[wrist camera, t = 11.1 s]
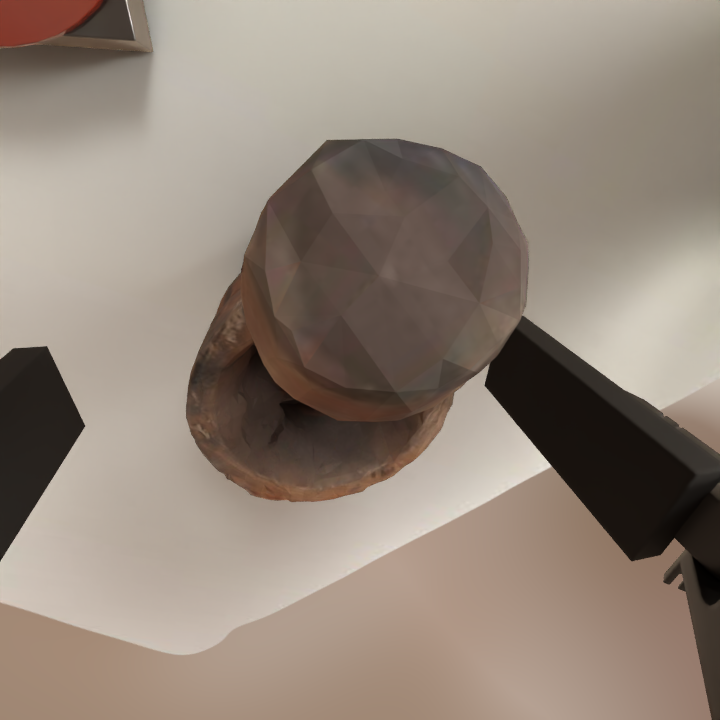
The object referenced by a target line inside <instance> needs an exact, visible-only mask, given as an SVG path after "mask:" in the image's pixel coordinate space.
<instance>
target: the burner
mask: <svg viewBox="0 0 720 720" xmlns="http://www.w3.org/2000/svg"><path fill="white" fill-rule="evenodd" d="M103 1H104V0H0V48H18V47H24V46H30V45H36V44H41V43H44V42H46V41H49V40H52V39H54V38H57V37H60V36H62V35H64V34H66V33H67V32H69V31H70V30H72V29H74V28H75V27H77V26H79V25H80V24H82V23H83V22H84V21H85V20H86V19H87V18H88V17H89V16H90V15H91V14H92V13H94V12H95V11H96V10H97V9H98V8H99V6H100V5H101V4H102V2H103Z"/></svg>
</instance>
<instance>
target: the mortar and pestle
mask: <svg viewBox="0 0 720 720" xmlns="http://www.w3.org/2000/svg"><path fill="white" fill-rule="evenodd" d="M528 269H529V258H528V241H527V239H526V237H525V235H524V234H523V232H522V230H521V228H520V226H519V224H518V222H517V220H516V218H515V216H514V213H513V211H512V209H511V206H510V204H509V202H508V199H507V197H506V196H505V195H504V193H503V192H502V191H501V190H500V189H499V188H498V186H497V185H496V184H495V183H494V182H493V180H492V179H491V178H490V177H489V176H488V175H487V173H486V172H485V171H484V170H483V169H482V167H481V166H478V165H476V164H474V163H472V162H470V161H468V160H465V159H463V158H461V157H459V156H457V155H455V154H453V153H450V152H448V151H446V150H444V149H442V148H437V147H433V146H428V145H423V144H419V143H414V142H410V141H405V140H400V139H358V140H327V141H326V142H325V143H324V144H323V145H322V146H321V147H320V148H319V149H318V150H317V151H316V152H315V153H314V154H313V155H312V156H311V157H310V158H309V159H308V160H307V161H306V162H305V163H304V164H303V165H302V166H301V167H300V168H299V169H298V170H297V171H296V172H295V173H294V174H293V175H292V176H291V177H290V178H289V179H288V180H287V181H286V182H285V183H284V184H283V185H282V186H281V187H280V188H279V189H278V190H277V191H276V192H275V193H274V194H273V195H272V196H271V197H270V198H269V200H268V201H267V203H266V206H265V207H264V209H263V210H262V212H261V215H260V218H259V220H258V223H257V226H256V229H255V231H254V234H253V236H252V238H251V241H250V243H249V245H248V248H247V250H246V252H245V254H244V262H243V266H242V269H241V274H239V275H238V277H237V278H236V279H235V280H234V281H233V283H232V284H231V285H230V286H229V287H228V289H227V291H226V293H225V294H224V296H223V298H222V300H221V302H220V305H219V308H218V310H217V313H216V316H215V318H214V319H213V321H212V323H211V325H210V328H209V330H208V332H207V334H206V336H205V339H204V341H203V343H202V345H201V347H200V350H199V352H198V354H197V357H196V360H195V363H194V365H193V368H192V371H191V375H190V380H189V385H188V393H187V404H186V418H187V421H188V425H189V428H190V432H191V434H192V436H193V438H194V439H195V442H196V444H197V446H198V447H199V449H200V450H201V452H202V453H203V455H204V456H205V457H206V458H207V459H208V460H209V461H210V463H211V464H212V465H213V466H214V467H215V468H216V469H217V470H218V471H219V472H221V473H223V474H224V475H225V476H226V478H227V479H229V480H231V481H233V482H234V483H236V484H237V485H239V486H240V487H242V488H244V489H245V490H246V491H247V492H248V493H249V494H250V495H253V496H256V497H260V498H264V499H269V500H277V501H278V500H289V501H291V502H297V501H311V502H314V501H323V500H330V499H335V498H338V497H342V496H346V495H350V494H355V493H359V492H362V491H364V490H365V489H366V488H367V487H369V486H371V485H373V484H376V483H378V482H381V481H384V480H387V479H388V478H390V477H392V476H394V475H395V474H396V473H397V472H398V471H400V470H401V469H402V468H403V467H404V466H406V465H407V464H409V463H411V462H412V461H414V460H415V459H416V458H417V457H418V456H419V455H420V454H421V453H422V452H423V451H424V450H425V449H426V448H427V447H428V446H429V444H430V443H431V442H432V440H433V439H434V438H435V437H436V435H437V434H438V433H439V431H440V430H441V428H442V426H443V423H444V420H445V418H446V415H447V412H448V411H449V409H450V407H451V406H452V403H453V396H454V392H455V391H457V390H458V389H459V388H461V387H462V386H463V385H464V384H465V383H466V381H468V380H469V379H471V378H472V377H474V376H475V375H477V374H478V373H479V372H480V371H482V370H483V369H484V368H485V367H486V366H487V365H488V364H489V363H490V362H491V361H492V360H493V359H494V358H496V357H497V356H498V354H499V353H500V351H501V349H502V348H503V346H504V345H505V343H506V342H507V340H508V339H509V337H510V336H511V334H512V332H513V331H514V329H515V328H516V326H517V325H518V323H519V322H520V320H521V317H522V314H523V312H524V309H525V307H526V299H527V284H528Z"/></svg>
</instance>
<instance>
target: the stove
mask: <svg viewBox="0 0 720 720" xmlns="http://www.w3.org/2000/svg"><path fill="white" fill-rule="evenodd" d="M37 45H52V46H67V47H82V48H96V49H111V50H126V51H141V52H153V47H152V42H151V37H150V33H149V28H148V23H147V18H146V13H145V8H144V3H143V0H104V1H103V2H102V4H101V5H100V6H99V8H98V9H97V10H96V11H95V12H94V13H92V14H91V15H90V16H89V17H88V18H87V19H86V20H85V21H84V22H83V23H82V24H80V25H79V26H77V27H75V28H74V29H72V30H70V31H69V32H67V33H66V34H64V35H62V36H60V37H57V38H54V39H52V40H49V41H46V42H44V43H41V44H37Z"/></svg>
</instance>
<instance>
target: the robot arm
mask: <svg viewBox="0 0 720 720" xmlns="http://www.w3.org/2000/svg"><path fill="white" fill-rule="evenodd" d="M485 387H486V388H487V389H488V390H489V391H490V392H491V394H492V395H493V396H494V397H495V398H496V400H497V401H498V402H499V403H500V404H501V406H502V407H503V408H504V409H505V410H506V412H507V413H508V414H509V415H510V416H511V418H512V419H513V420H514V421H515V422H516V424H517V425H518V426H519V427H520V428H521V430H522V431H523V432H524V433H525V434H526V436H527V437H528V438H529V439H530V440H531V442H532V443H533V444H534V445H535V446H536V448H537V449H538V450H539V451H540V452H541V454H542V455H543V456H544V457H545V458H546V460H547V461H548V462H549V463H550V464H551V466H552V467H553V468H554V469H555V470H556V471H557V473H558V474H559V475H560V476H561V478H562V479H563V480H564V481H565V482H566V483H567V485H568V486H569V487H570V488H571V489H572V491H573V492H574V493H575V494H576V495H577V497H578V498H579V499H580V500H581V501H582V503H583V504H584V505H585V506H586V507H587V509H588V510H589V511H590V512H591V513H592V515H593V516H594V517H595V518H596V519H597V521H598V522H599V523H600V524H601V525H602V527H603V528H604V529H605V530H606V531H607V533H609V535H610V536H611V537H612V539H613V540H614V541H615V542H616V543H617V544H618V546H619V547H620V548H621V549H622V550H623V552H624V553H625V554H626V555H627V556H628V558H629V559H630V560H631V561H635V560H640V559H644V558H649V557H654V556H658V555H661V554H662V553H663V551H664V550H665V549H666V548H667V546H668V545H669V544H670V542H671V541H672V540H673V539H674V538H675V539H676V540H677V541H678V542H680V544H681V545H682V546H683V547H685V550H684V551H683V553H682V554H681V555H680V556H679V557H678V559H677V560H676V561H675V562H674V563H673V565H672V566H671V567H670V568H669V569H668V570H667V571H666V573H665V574H664V581H663V582H664V583H666V584H671V582H672V581H673V580H674V579H675V578H676V577H677V576H678V574H682V575H683V581H682V583H681V584H680V585H679V587H678V589H680V590H683V591H685V592H686V595H687V600H688V605H689V609H690V614H691V619H692V624H693V629H694V634H695V639H696V644H697V649H698V654H699V659H700V664H701V668H702V673H703V678H704V683H705V688H706V693H707V698H708V703H709V708H710V713H711V717H712V720H720V454H719V453H717V452H716V451H714V450H713V449H712V448H710V447H709V446H708V445H706V444H705V443H703V442H702V441H701V440H699V439H698V438H696V437H695V436H694V435H692V434H691V433H690V432H688V431H687V430H685V429H684V428H679V425H678V424H677V423H676V422H674V421H673V420H672V419H670V418H669V417H667V416H665V417H664V416H663V413H662V412H660V411H659V410H658V409H656V408H655V407H654V406H652V405H651V404H649V403H648V402H647V401H645V400H644V399H641V398H639V397H637V396H635V395H633V394H631V393H629V392H627V391H625V390H623V389H622V388H620V387H619V386H618V385H616V384H615V383H614V382H612V381H611V380H610V379H608V378H607V377H606V376H604V375H603V374H601V373H600V372H599V371H597V370H596V369H595V368H593V367H592V366H591V365H589V364H588V363H587V362H585V361H584V360H582V359H581V358H580V357H578V356H577V355H576V354H574V353H573V352H572V351H570V350H569V349H568V348H566V347H565V346H563V345H562V344H561V343H559V342H558V341H557V340H555V339H554V338H553V337H551V336H550V335H549V334H547V333H546V332H544V331H543V330H542V329H540V328H539V327H538V326H536V325H535V324H534V323H532V322H531V321H530V320H528V319H527V318H526V317H524V316H522V317H521V320H520V322H519V323H518V325H517V326H516V328H515V329H514V331H513V332H512V334H511V336H510V337H509V339H508V340H507V342H506V343H505V345H504V346H503V348H502V349H501V351H500V353H499V354H498V356H497V357H496V358H494V359H493V360H492V361H491V362H490V366H489V370H488V374H487V378H486V381H485ZM84 427H85V424H84V422H83V420H82V418H81V416H80V414H79V412H78V410H77V408H76V406H75V404H74V402H73V399H72V397H71V395H70V393H69V391H68V389H67V387H66V385H65V383H64V381H63V379H62V377H61V374H60V372H59V370H58V368H57V366H56V364H55V362H54V360H53V358H52V356H51V354H50V352H49V349H48V347H47V346H46V347H30V348H15V349H12V350H11V351H10V352H9V353H7V354H6V355H5V356H4V357H3V358H2V359H0V561H1V559H2V558H3V556H4V555H5V553H6V551H7V550H8V548H9V547H10V545H11V543H12V542H13V540H14V539H15V537H16V535H17V534H18V532H19V531H20V529H21V528H22V526H23V524H24V523H25V521H26V520H27V518H28V516H29V515H30V513H31V512H32V510H33V508H34V507H35V505H36V504H37V502H38V500H39V499H40V497H41V496H42V494H43V492H44V491H45V489H46V488H47V486H48V485H49V483H50V481H51V480H52V478H53V477H54V475H55V473H56V472H57V470H58V469H59V467H60V465H61V464H62V462H63V461H64V459H65V457H66V456H67V454H68V453H69V451H70V450H71V448H72V446H73V445H74V443H75V442H76V440H77V438H78V437H79V435H80V434H81V432H82V430H83V429H84Z"/></svg>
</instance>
